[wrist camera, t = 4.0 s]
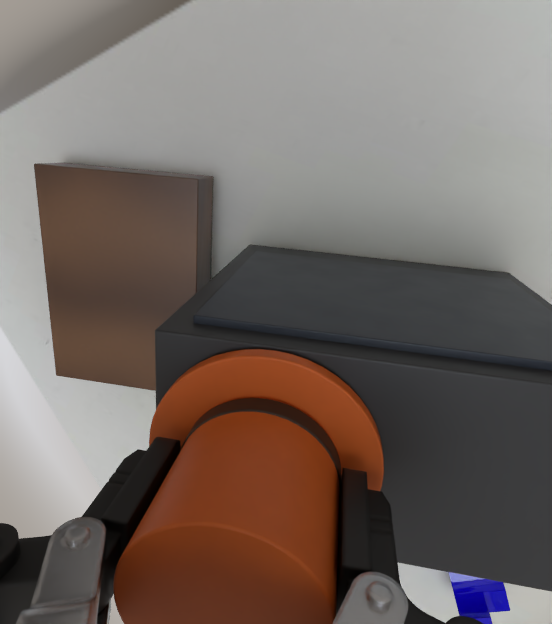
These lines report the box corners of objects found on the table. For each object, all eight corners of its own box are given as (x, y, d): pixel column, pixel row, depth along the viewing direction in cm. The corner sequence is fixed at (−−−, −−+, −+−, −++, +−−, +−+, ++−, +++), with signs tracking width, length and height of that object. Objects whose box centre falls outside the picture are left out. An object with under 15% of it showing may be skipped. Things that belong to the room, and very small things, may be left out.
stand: (63, 162, 29) (33, 163, 26) (213, 176, 28) (198, 178, 25) (80, 357, 34) (55, 375, 31) (208, 376, 32) (194, 397, 30)
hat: (155, 330, 14) (41, 436, 9) (404, 370, 14) (441, 512, 8) (155, 519, 17) (66, 685, 12) (361, 561, 16) (367, 761, 11)
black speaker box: (249, 239, 28) (153, 321, 15) (510, 267, 27) (688, 393, 13) (243, 356, 31) (157, 517, 17) (478, 389, 29) (594, 600, 15)
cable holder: (499, 579, 34) (517, 631, 31) (452, 584, 35) (464, 635, 31) (479, 497, 32) (496, 542, 28) (430, 504, 33) (440, 548, 29)
